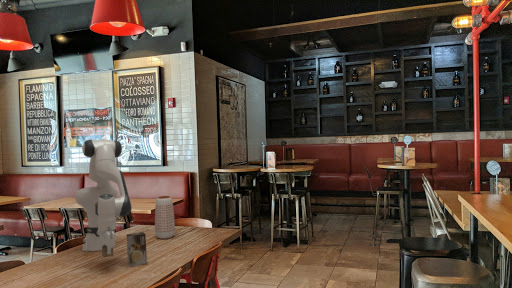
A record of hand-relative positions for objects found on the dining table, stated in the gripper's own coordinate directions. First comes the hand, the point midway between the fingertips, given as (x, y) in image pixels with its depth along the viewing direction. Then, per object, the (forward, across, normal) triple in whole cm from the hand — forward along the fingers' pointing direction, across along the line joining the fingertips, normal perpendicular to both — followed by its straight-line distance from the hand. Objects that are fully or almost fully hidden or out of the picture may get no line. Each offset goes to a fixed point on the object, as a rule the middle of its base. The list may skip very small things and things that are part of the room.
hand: (107, 252), depth 193 cm
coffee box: (+8, -3, -14) cm, 17 cm away
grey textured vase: (+9, +44, -47) cm, 65 cm away
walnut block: (+2, 0, 0) cm, 2 cm away
